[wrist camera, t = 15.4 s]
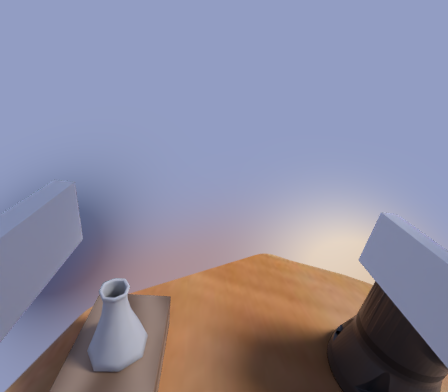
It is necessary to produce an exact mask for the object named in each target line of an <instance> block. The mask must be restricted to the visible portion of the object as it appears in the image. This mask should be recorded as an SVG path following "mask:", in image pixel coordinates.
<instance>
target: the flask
mask: <svg viewBox="0 0 448 392" xmlns="http://www.w3.org/2000/svg"><path fill="white" fill-rule="evenodd" d="M129 288H130V285H129V284H128V282H127V280H126V279H119V278H114V279H111V280H109V281H106V282H104V283H103V284H102V286H101V288H100V290H99V294H100V297H101V299H102V301H103V307H102V313H101V317H100V320H99V322H98V325H97V328H96V331H95V333H94V335H93V338H92V340H91V343H90V345H89V348H88V350H87V352H88V355H89V358H90V361H91V364H92V367H93V370H94V371H107V372H120V371H121V370H123V369H124V368H126V367H128V366H129V365H131V364H132V363H134V362H136V361H137V360H139V359H140V358H142V357H143V354H144V350H145V345H146V341H147V337H148V335H147V333H146V331H145V329H144V327H143V326H142V324H141V322H140V320H139V319H138V317H137V316H136V314H135V313H134V312H133V310H132V309H131V307H130V304H129V301H128V295H127V294H128V291H129Z"/></svg>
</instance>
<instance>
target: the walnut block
mask: <svg viewBox="0 0 448 392" xmlns="http://www.w3.org/2000/svg"><path fill="white" fill-rule="evenodd" d="M127 295H128V301H129V304H130V307H131V309H132V310H133V312H134V313H135V314H136V316H137V317H138V319H139V320H140V322H141V324H142V326H143V327H144V329H145V331H146V333H147V335H148V337H147V341H146V345H145V350H144V354H143V357H142V358H140V359H139V360H137V361H136V362H134V363H132V364H131V365H129V366H128V367H126V368H124V369H123V370H121V371H120V372H107V371H94V370H93V367H92V364H91V361H90V358H89V355H88V352H87V350H88V348H89V345H90V343H91V340H92V338H93V335H94V333H95V331H96V328H97V325H98V322H99V320H100V317H101V313H102V307H103V301H102V299H101V297H100V294H99V296H98V298H97V300H96V302H95V304H94V306H93V308H92V310H91V312H90V314H89V316H88V318H87V320H86V321H85V323H84V325H83V327H82V329H81V331H80V333H79V335H78V337H77V339H76V341H75V343H74V345H73V347H72V349H71V351H70V353H69V354H68V356H67V358H66V360H65V362H64V364H63V366H62V368H61V370H60V372H59V374H58V376H57V378H56V380H55V382H54V384H53V386H52V388H51V389H50V391H49V392H158V388H159V382H160V376H161V370H162V364H163V358H164V352H165V346H166V340H167V334H168V328H169V316H170V298H171V297H170V296H151V295H133V294H127Z"/></svg>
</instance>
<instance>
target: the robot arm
mask: <svg viewBox="0 0 448 392" xmlns="http://www.w3.org/2000/svg"><path fill="white" fill-rule="evenodd" d="M82 239H83V236H82V230H81V222H80V215H79V207H78V201H77V193H76V186H75V182H72V181H62V180H53V181H51V182H50V183H48V184H47V185H45V186H44V187H42V188H41V189H39V190H37V191H36V192H34V193H33V194H31V195H30V196H28V197H27V198H25V199H23V200H22V201H20V202H19V203H17V204H16V205H14V206H12V207H11V208H9V209H8V210H6V211H5V212H3V213H2V214H0V342H1V341H2V340H3V338H4V337H5V336H6V335H7V334H8V332H9V331H10V330H11V329H12V327H13V326H14V325H15V324H16V322H17V321H18V320H19V318H20V317H21V316H22V315H23V313H24V312H25V311H26V310H27V308H28V307H29V306H30V305H31V303H32V302H33V301H34V300H35V298H36V297H37V296H38V295H39V293H40V292H41V291H42V290H43V288H44V287H45V286H46V285H47V283H48V282H49V281H50V280H51V278H52V277H53V276H54V275H55V273H56V272H57V271H58V270H59V268H60V267H61V266H62V265H63V263H64V262H65V261H66V260H67V258H68V257H69V256H70V255H71V253H72V252H73V251H74V250H75V248H76V247H77V246H78V245H79V243H80V242H81V241H82ZM359 261H360V263H361V264H362V265H363V266H364V267H365V269H366V270H367V271H368V272H369V273H370V275H371V276H372V277H373V278H374V280H375V283H374V285H373V287H372V288H371V290H370V292H369V294H368V296H367V297H366V299H365V301H364V303H363V304H362V306H361V308H360V310H359V312H358V314H357V315H355V316H354V317H352V318H351V319H349V320H348V321H346V322H345V323H343V324H342V325H340V326H339V327H338V328H337V329H336V330H335V331H334V333H333V335H332V337H331V339H330V341H329V343H328V349H327V354H328V361H329V365H330V368H331V370H332V373H333V375H334V377H335V379H336V381H337V382H338V384H339V385H340V387H341V388H342V390H343V391H344V392H440V390H441V384H442V380H443V379H444V378H445V376H446V375H447V374H448V251H447V250H446V249H445V248H443V247H442V246H441V245H439V244H438V243H436V242H435V241H434V240H432V239H431V238H429V237H428V236H427V235H425V234H424V233H423V232H421V231H420V230H418V229H417V228H416V227H414V226H413V225H411V224H410V223H409V222H407V221H406V220H404V219H403V218H402V217H400V216H399V215H397V214H392V213H381V214H380V216H379V219H378V220H377V223H376V225H375V227H374V229H373V231H372V233H371V235H370V237H369V239H368V241H367V243H366V246H365V248H364V250H363V252H362V254H361V256H360V258H359Z"/></svg>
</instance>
